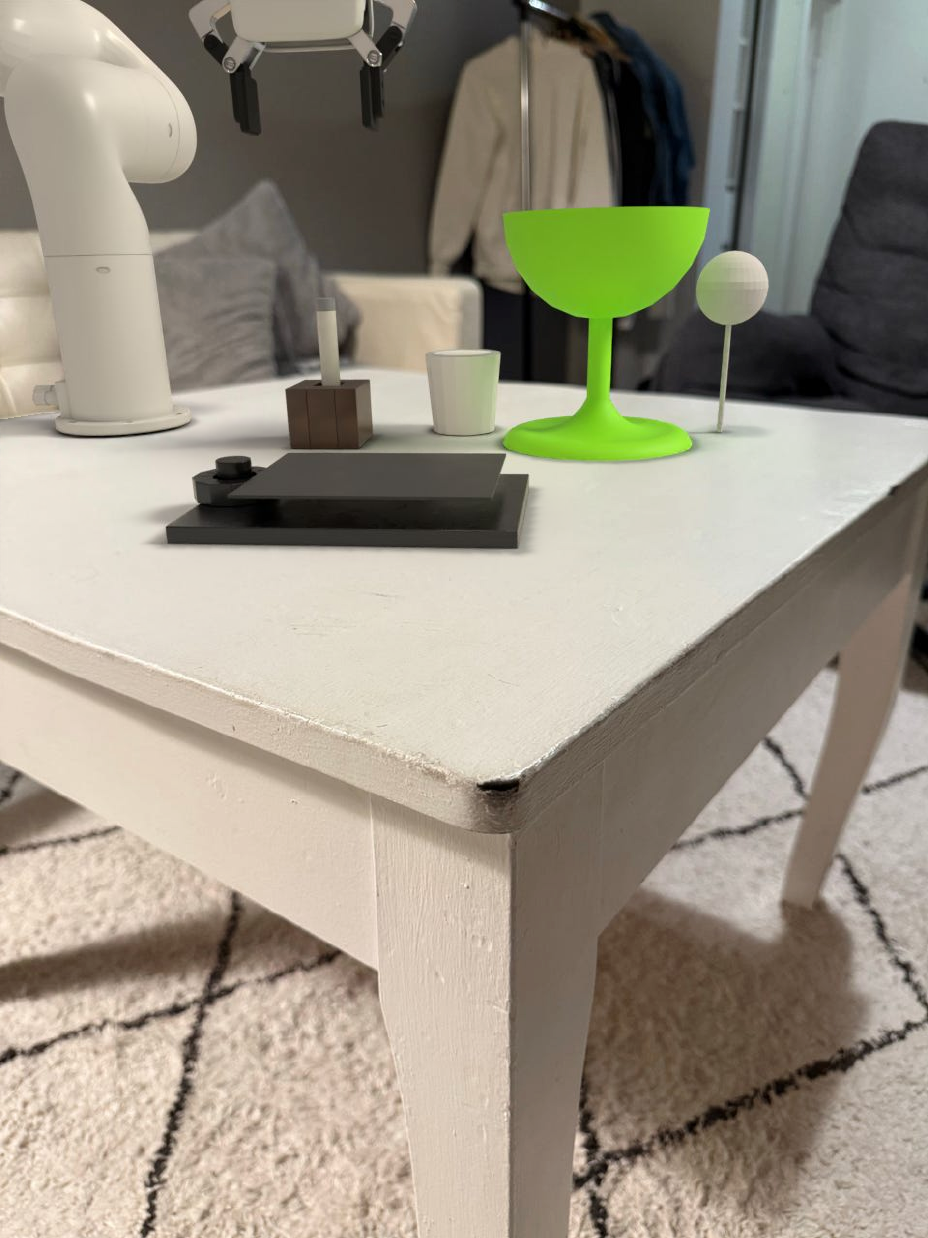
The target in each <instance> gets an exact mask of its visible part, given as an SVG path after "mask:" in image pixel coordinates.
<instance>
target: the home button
mask: <svg viewBox="0 0 928 1238" xmlns="http://www.w3.org/2000/svg"><path fill="white" fill-rule="evenodd" d="M214 464H215V469H216V473H217V479H218V480H237V479H245V478H249V477H253V472H252V466H253V465H252V458H251V457H250V456H248V455H247V456H246V455H227V456H223V457H218V458H216V459H215V461H214Z"/></svg>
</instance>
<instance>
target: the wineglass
mask: <svg viewBox="0 0 928 1238" xmlns="http://www.w3.org/2000/svg"><path fill="white" fill-rule="evenodd" d="M710 212H711V208H709V207H702V206H674V205H673V206H669V205H667V206H665V205H663V206H662V205H661V206H660V205H659V206H658V205H657V206H656V205H655V206H651V205H649V206H648V205H647V206H644V205H643V206H598V207H597V206H596V207H594V206H593V207H571V208H570V207H566V208H546V209H530V210H519V211H509V212H503V213H502V214H501V215H502V221H503V222H502V223H503V230H504V238H505V244H506V247H507V250H508V252H509V255H510V258H511V260H512V262H513V265H514V267H515V269H516V271H517V272H518V274H519V275H520V276H521V278H522V279H523V280H524V282H525V283H526V285H527V286H528V288H529V289H530V290H531V291H532V292H533V293H534V294H535V295H537V296H538V297H539V298H540V299H542V300H543V301H544V302H546V303H547V304H548V305H549V306H550V307H552V308H554V309H556V310H559V311H562V312H564V313H566V314H568V315H571V316H573V317H577V318H583V319H584V318H585V319H588V339H587V341H588V342H587V368H586V369H587V370H586V371H587V372H586V373H587V374H586V397H585V399H584V401H583V403H582V404H581V406H580V408H579V409H578V410H577V411H576V412H575V413H574V414H573V415H564V416H563V415H562V416H553V417H545V418H539V419H533V420H530V421H525V422H522V423H519V424H517V425H516V426H514V427H512V428H511V429H509V430H508V431H507V433H506V434H505V436H504V439H503V442H502V446H504V447H505V448H506V449H507V450H508V451H514V452H516V453H518V454H519V453H520V454H524V455H528V456H533V457H539V458H547V459H554V460H564V461H565V460H566V461H585V462H617V461H635V460H645V459H655V458H662V457H667V456H672V455H676V454H680V453H683V452H686V451H687V452H688V451H689V450H690V449H691V448H692V446H693V441H692V439H691V437H690V435H689V434H688V433H687V431H686V430H685V429H684V428H682V427H680V426H678V425H676V424H674V423H671V422H667V421H663V420H660V419H653V418H646V417H640V416H627V415H621V414H620V412H618V410H617V409H616V407H615V406H614V404H613V402H612V399H611V398H610V392H611V391H610V389H611V367H612V366H611V365H612V339H613V319H614V318H623V317H627V316H629V315H632V314H634V313H637V312H640V311H641V310H644V309H646V308H648V307H651V306H653V305H654V304H655V303H657V302H658V301H660V299H662V298H663V297H665V295H667V294H669V292H671V291H672V290H674V289H675V287H676V286H677V285H678V283H679V282H680V281H681V280H682V279H683V278H684V276H685V275H686V274H687V272H688V271H689V270H690V269H691V267H692V266H693V264H694V263H695V260H696V258H697V256H698V254H699V251H700V249H701V247H702V245H703V243H704V241H705V237H706V233H707V229H708V228H707V227H708V222H709V218H710Z"/></svg>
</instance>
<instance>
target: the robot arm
mask: <svg viewBox="0 0 928 1238" xmlns="http://www.w3.org/2000/svg"><path fill="white" fill-rule="evenodd" d="M373 1H375V2H376V3H378V4H380V5H382V6H384V7H385V8H387V9H389V10H391V11H392V18H391V22H390V24H389V27H388V28H387V29H386V30H385V32H384V33H383V34H382V35H381V36H380V38H379V39H378V40H377V42H376V43H375V42H374V41H373V38H374V31H375V17H374V15H375V14H374V3H373ZM229 12H230V15H231V21H232V27H233V30H234V32H235V34H236V36H235V38H234V39H233V41H232V43H231V45H230V46H229V45H227V44H226V42H225V41H224V40H222V37H221V35H220V33H219V31H218V29H217V21H218V20H219V19H221V18H222V17H223V16H226V14H228V13H229ZM417 12H418V6H417V3H416V1H415V0H200V2H198V3H197V4H195V5H194V6H192V7H191V8H190V9H189V10H188V19H189V22H191V24H192V26H193V28H194V31H196V34H197V35H198V38H199V39H200V40H201V42H202V43H203V44H202V45H203V48H204V49H205V50H206V52H207V53H209V55H210V56H211V57H212V58H213V59H214V60H215V61H216V62H217V63H218V64H219V65H220V66H221V67H222V69H223V70H224V71H225V72H226V73H228V75H229V84H230V94H231V104H232V105H231V106H232V115H233V119H234V121H235V123H236V124H239V129H240V132H241V133H243V134H245V135H248V136H251V137H259V136H260V135H261V134H262V125H261V113H260V102H259V90H258V82H257V80H256V79H255V78H253V77H252V70H253V69H254V66H255V65H256V64H257V62H258V60H259V58H260V57H261V55H262V53H263V52H266V53H300V52H323V51H324V52H325V51H342V50H354V49H355V50H356V51H357V52H358V53H359V55H360V56H361V57H362V59H363V66H361V69H359V86H360V87H359V88H360V90H359V91H360V105H361V107H360V108H361V123H362V127H364V128H365V129H367V130H368V131H370V132H371V133H376V132H380V119H385V118H386V96H385V75H384V73H386V72H387V71H388V69H389V65H390V64H391V63H392V61H393V60H394V59H395V58H396V56H397V55H398V53H399V52H400V51H401V50H402V48H403V47H404V46H405V44H406V40H407V39H406V38H407V36H408V33H410V29H411V27H412V25H413V22H414V19H415V17H416V15H417ZM0 97H1V98H3V109H4V116H5V121H6V126H7V129H8V133H9V136H10V138H11V142H12V145H13V147H14V150H15V153H16V155H17V157H18V161H19V163H20V166H21V169H22V172H23V174H24V178H25V181H26V184H27V188H28V191H29V194H30V198H31V202H32V206H33V211H34V215H35V221H36V225H37V230H38V235H39V236H38V237H39V241H40V248H41V253H42V257H43V262H44V267H45V273H46V279H47V285H48V289H49V296H50V301H51V307H52V308H51V309H52V312H53V313H52V314H53V319H54V325H55V330H56V335H57V341H58V346H59V352H60V358H61V364H62V371H63V376H64V379H61V380H58V381H55V382H54V384H35V386H34V387H33V389H32V395H31V397H32V402H33V404H34V405H35V406H41V407H43V406H56V407H58V410H59V415H58V416H57V417H55V418H54V425H55V429H56V430H57V431H58V432H59V433H62V434H66V435H74V436H91V437H92V436H94V437H96V436H97V437H99V436H101V437H102V436H103V437H104V436H121V435H134V434H135V435H137V434H143V433H152V432H159V431H165V430H170V429H174V428H178V427H181V426H184V425H186V424H188V423H189V422H191V419H192V418H191V410H190V409H189V408H188V407H186V406H181V405H174V403H173V395H172V388H171V382H170V373H169V367H168V366H169V365H168V358H167V352H166V343H165V336H164V330H163V322H162V315H161V314H162V313H161V307H160V300H159V291H158V284H157V278H156V277H157V276H156V271H155V270H156V269H155V262H154V255H153V249H152V242H151V235H150V232H149V227H148V224H147V221H146V218H145V215H144V212H143V209H142V207H141V205H140V203H139V201H138V199H137V197H136V195H135V193H134V192H133V190H132V188H131V186H130V183H137V184H163V183H168V182H171V181H174V180H176V179H178V178H179V177H180V176H183V174H185V172H186V171H187V170H188V169H189V168H190V166H191V165H192V164H193V163H192V162H194V159H195V155H196V153H197V145H198V135H197V126H196V122H195V119H194V115H193V113H192V109H191V107H190V105H189V104H188V101H187V100H186V98H185V96H184V95H183V93H182V92H181V90H180V89H179V88H178V87H177V85H176V84H175V83H174V82H173V81H172V79H170V77H169V76H168V75H167V74H166V73H164V72H163V70H161V68H159V67H158V65H156V63H155V62H153V61H152V59H150V58H149V56H147V54H145V53H144V52H143V50H141V49H140V48H139V47H138V46H137V45H136V44H135V43H134V42H133V41H132V40H131V39H130V38H129V37H128V36H127V35H126V34H125V33H124V32H123V31H122V30H121V29H120V28H119V27H118V26H117V25H115V24H114V22H112V21H111V19H109V17H107V16H106V15H105V14H104V13H102V12H101V11H99V10H97V9H96V8H95V7H93V6H91V5H90V4H88V3H87V2H84V1H83V0H0Z"/></svg>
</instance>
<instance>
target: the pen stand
mask: <svg viewBox="0 0 928 1238" xmlns="http://www.w3.org/2000/svg"><path fill="white" fill-rule="evenodd" d="M340 382H341V385H340V386H322V380H321V379H303V380H301V381H300V382H298V383H295V384H293V385H291V386H289V387H286V388H285V389H284V391H285V402H286V414H287V423H288V424H287V426H288V436H289V437H288V438H289V447H290V449H321V450H323V449H329V450H330V449H332V450H334V449H335V450H337V449H353V450H355V449H356V450H357V449H360V448H362V446H363V445H364V444H365V443H367V442H368V441H369V440H370V439H371V438H372V437H373V436H374V427H373V425H374V424H373V409H372V391H371V379H340Z"/></svg>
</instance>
